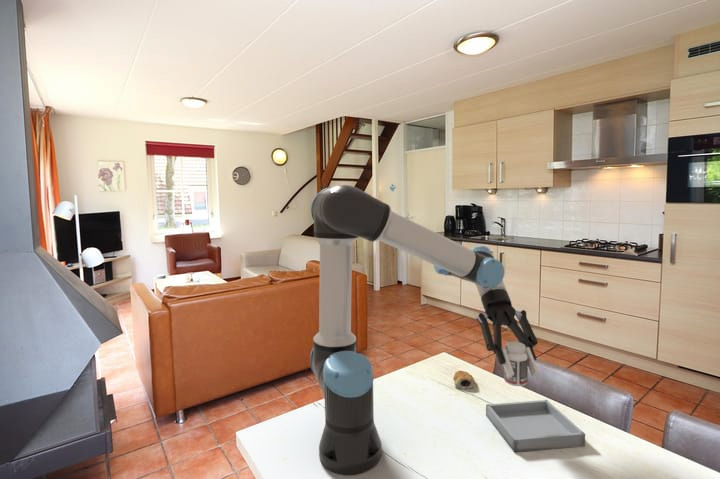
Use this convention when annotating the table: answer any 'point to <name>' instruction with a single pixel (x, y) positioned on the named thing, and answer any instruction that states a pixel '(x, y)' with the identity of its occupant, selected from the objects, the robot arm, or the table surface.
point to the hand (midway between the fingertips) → (523, 375)
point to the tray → (534, 426)
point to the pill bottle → (517, 364)
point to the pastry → (463, 380)
